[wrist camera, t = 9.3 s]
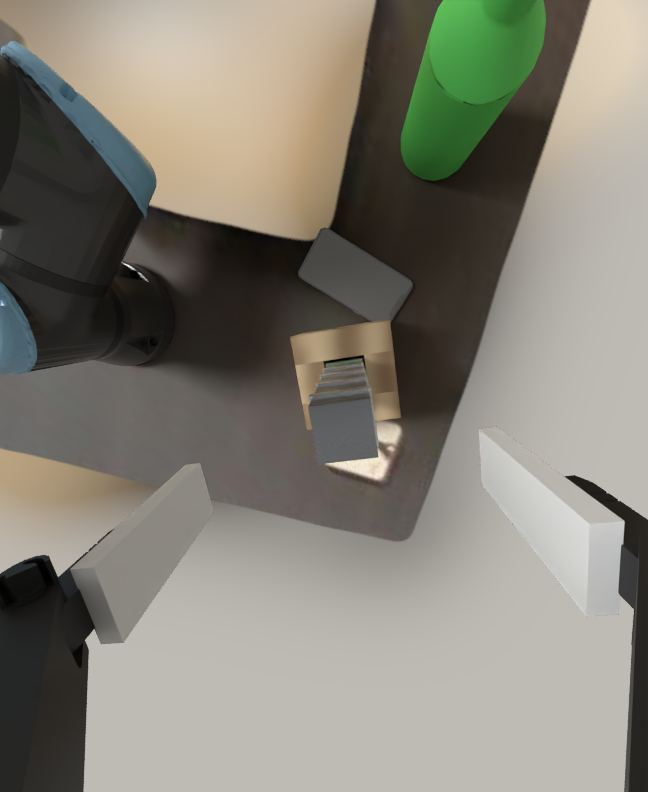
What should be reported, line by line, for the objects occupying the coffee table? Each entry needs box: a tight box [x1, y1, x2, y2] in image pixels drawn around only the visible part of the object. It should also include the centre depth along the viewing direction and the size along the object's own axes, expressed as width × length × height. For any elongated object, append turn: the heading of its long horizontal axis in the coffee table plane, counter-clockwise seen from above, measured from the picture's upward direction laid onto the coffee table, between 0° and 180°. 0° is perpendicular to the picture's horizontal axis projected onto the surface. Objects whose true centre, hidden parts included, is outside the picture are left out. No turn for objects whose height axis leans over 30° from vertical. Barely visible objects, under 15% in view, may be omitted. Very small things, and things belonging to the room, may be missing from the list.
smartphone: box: [298, 228, 413, 323], centre depth 44 cm, size 8×1×15 cm
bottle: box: [401, 0, 546, 181], centre depth 28 cm, size 9×9×25 cm
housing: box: [290, 320, 401, 430], centre depth 42 cm, size 12×12×11 cm
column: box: [308, 357, 379, 464], centre depth 31 cm, size 4×4×22 cm
